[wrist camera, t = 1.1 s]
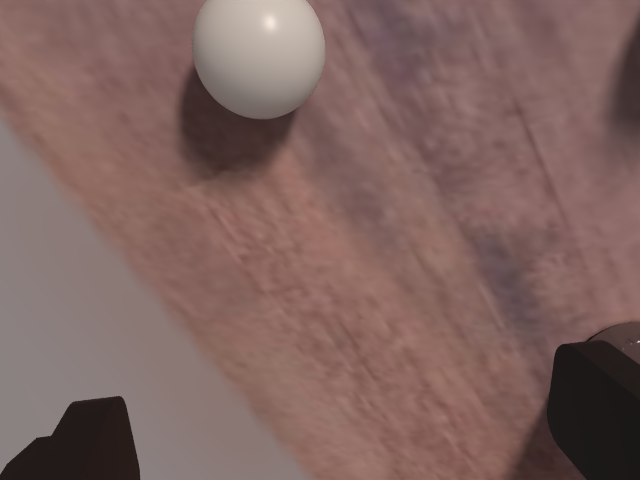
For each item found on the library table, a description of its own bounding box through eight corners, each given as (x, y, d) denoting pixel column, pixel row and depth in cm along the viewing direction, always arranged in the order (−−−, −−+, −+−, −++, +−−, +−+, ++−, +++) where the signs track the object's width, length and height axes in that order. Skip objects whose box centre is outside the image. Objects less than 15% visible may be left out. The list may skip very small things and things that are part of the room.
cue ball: (338, 68, 25) (364, 63, 19) (250, 138, 25) (250, 153, 20) (267, -37, 23) (273, -77, 17) (173, 41, 23) (149, 27, 18)
